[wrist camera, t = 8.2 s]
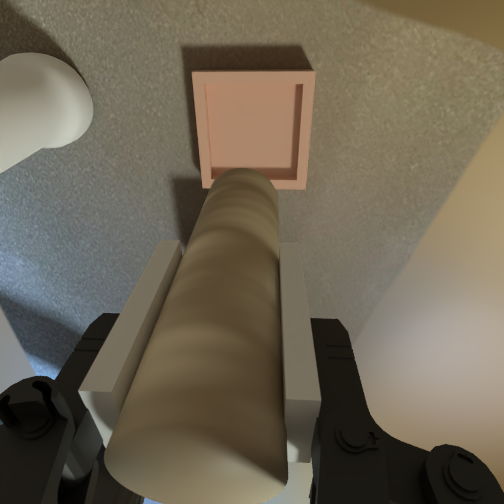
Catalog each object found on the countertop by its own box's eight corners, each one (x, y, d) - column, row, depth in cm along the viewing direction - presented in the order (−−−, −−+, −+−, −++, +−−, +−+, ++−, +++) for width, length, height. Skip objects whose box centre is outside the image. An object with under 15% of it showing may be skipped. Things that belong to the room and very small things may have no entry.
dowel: (210, 231, 20) (125, 505, 8) (205, 167, 18) (80, 417, 6) (276, 232, 20) (283, 515, 8) (279, 168, 18) (294, 428, 6)
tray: (206, 180, 37) (202, 188, 35) (196, 69, 31) (191, 71, 29) (303, 181, 37) (305, 189, 35) (312, 69, 31) (315, 71, 29)
